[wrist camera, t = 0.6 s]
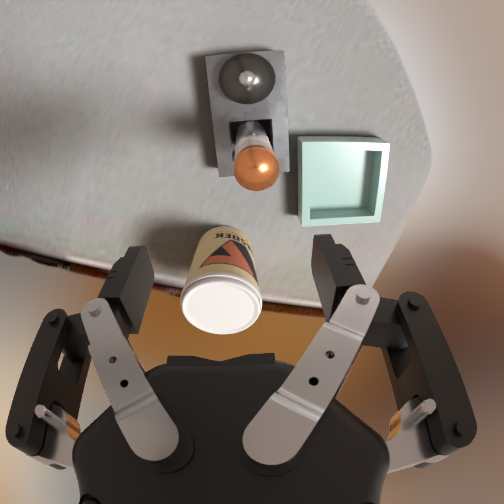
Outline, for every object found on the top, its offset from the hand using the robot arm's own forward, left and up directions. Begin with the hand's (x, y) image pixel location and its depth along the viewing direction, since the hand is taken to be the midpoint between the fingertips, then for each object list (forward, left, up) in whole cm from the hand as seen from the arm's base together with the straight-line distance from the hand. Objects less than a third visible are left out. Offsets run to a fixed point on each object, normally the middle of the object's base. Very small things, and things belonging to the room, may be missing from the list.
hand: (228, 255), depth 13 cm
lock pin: (-1, +2, -23) cm, 23 cm away
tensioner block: (-4, +2, -23) cm, 23 cm away
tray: (+5, +13, -23) cm, 27 cm away
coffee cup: (+15, -3, -23) cm, 28 cm away
